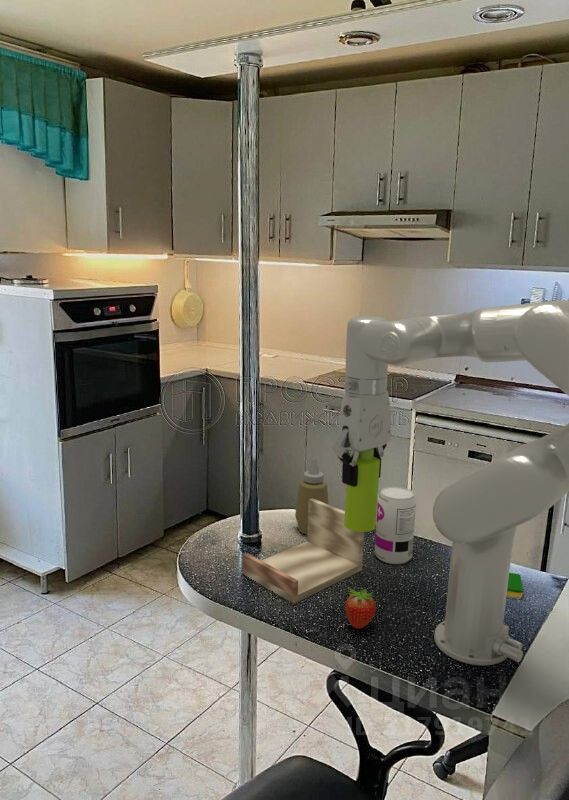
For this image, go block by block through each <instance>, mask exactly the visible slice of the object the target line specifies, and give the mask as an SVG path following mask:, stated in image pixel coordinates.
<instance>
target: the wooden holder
mask: <svg viewBox="0 0 569 800" xmlns="http://www.w3.org/2000/svg"><path fill="white" fill-rule="evenodd" d="M328 504H329V503H328ZM328 504H325V503H323V502H320V501H318V500H316V499H313V498H312V499H309V504H308V532H307V535H306V536H307V537H306V539H307V540H306V541H305V542H302V543H300V544H298V545H294V546H293V547H290V548H288V549H286V550H282V551H281V552H279V553H276V554H273V555H270V556H269V557H266V558H264V559H261V560H260V559H259V558H257V557H255V556H254V555H251V554H250V553H248V552H245V553H243V554H242V575H243V574H244V575H245V577H246V576H247V578H248V577H249V578H248V579H250V580H251V579H252V581H253V580H254V581H253V582H255V581H256V582H255V583H257V584H258V583H259V585H260V584H261V585H260V586H262V587H264V588H265V589H267V590H269V591H270V592H272V591H273V593H274V594H276V595H278V596H279V597H281V598H283V599H285V600H286V601H288V602H290V603H291V604H294V605H295V604H296V603H298V602H301V601H303V600H304V599H307V598H308V597H312V596H313V595H314V594H316V593H318V592H321V591H322V590H325V589H327V588H329V587H331V586H333V585H335V584H337V583H339V582H342V581H344V580H345V579H347V578H350V577H351V576H353V575H356V574H357V573H359V572H361V571H363V557H364V544H365V543H364V541H365V540H364V539H365V532H356V531H352V530H349V529H347V528H346V527H345V526H344V518H345V510H343V509H340V508H337V507H335V506H332V505H330V504H329V505H328ZM244 575H243V576H244Z"/></svg>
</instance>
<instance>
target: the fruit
mask: <svg viewBox="0 0 569 800" xmlns="http://www.w3.org/2000/svg"><path fill="white" fill-rule="evenodd" d="M350 592H351V593H350ZM374 593H375V592H374V591H372V592H369V593H367V588H364V589H363V590H362V587H360V591H355V590H353V589H352V588H351V587H349V592H348V594H349V596H348V598H347V600H346V601H345V614H346V618H347V619H348V622H349V623H350V625H351V626H352V627H353V628H354V629H356V630H359V629H363V628H365V627H366V626H367V625H368V624H369V623H370V622H371V621H372V620H373V618H374V617H375V615H376V610H377V606H376V602H375V600H374V598H373V596H371V595H372V594H374Z"/></svg>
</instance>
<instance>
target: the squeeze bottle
mask: <svg viewBox="0 0 569 800" xmlns="http://www.w3.org/2000/svg"><path fill="white" fill-rule="evenodd" d="M324 478H325V474H324V473H323V472H322V471H320V468H319V463H318V459H317V457H312V458H311V460H310V464H309V468H308V470H306V471H305V472H303V480H302V481H300V483H299V485H298V493H297V500H296V507H295V514H294V515H295V516H294V517H295V519H296V522H297V523H296V524H297V526H298V529H299V532H300V533H302V534H304V535H306V536H307V532H308V504H309V499H312V498H313V499H316V500H318V501H320V502H323V503H325V504H328V505H330V504H329V494H328V493H329V491H328V489H329V488H328V484H327V482H326V481H324Z"/></svg>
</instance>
